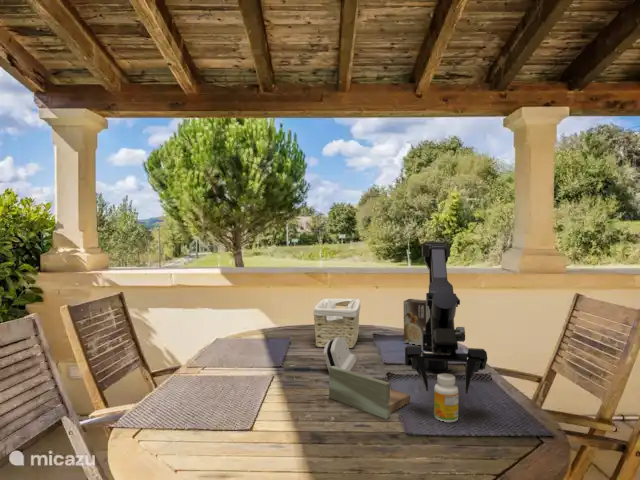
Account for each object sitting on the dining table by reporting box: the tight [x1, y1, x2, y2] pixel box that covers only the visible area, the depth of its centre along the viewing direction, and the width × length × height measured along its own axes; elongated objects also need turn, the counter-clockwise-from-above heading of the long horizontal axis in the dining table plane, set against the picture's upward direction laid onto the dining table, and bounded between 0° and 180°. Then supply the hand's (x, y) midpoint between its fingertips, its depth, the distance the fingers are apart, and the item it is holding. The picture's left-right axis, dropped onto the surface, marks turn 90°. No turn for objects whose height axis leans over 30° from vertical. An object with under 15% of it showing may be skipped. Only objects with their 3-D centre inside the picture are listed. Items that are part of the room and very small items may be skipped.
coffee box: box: [403, 298, 430, 347], centre depth 164 cm, size 9×6×16 cm
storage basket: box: [312, 297, 361, 349], centre depth 169 cm, size 24×16×15 cm
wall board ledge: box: [328, 366, 411, 420], centre depth 112 cm, size 12×18×8 cm, turn 46°
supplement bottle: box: [433, 373, 459, 423], centre depth 102 cm, size 5×5×10 cm
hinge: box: [323, 337, 357, 372], centre depth 138 cm, size 17×5×10 cm, turn 165°
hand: (446, 391), depth 100 cm, fingers open, 8 cm apart
